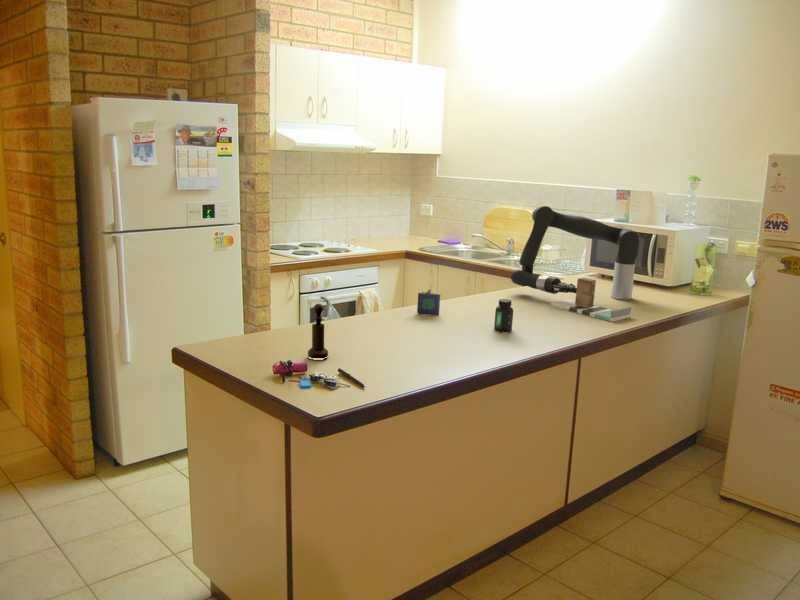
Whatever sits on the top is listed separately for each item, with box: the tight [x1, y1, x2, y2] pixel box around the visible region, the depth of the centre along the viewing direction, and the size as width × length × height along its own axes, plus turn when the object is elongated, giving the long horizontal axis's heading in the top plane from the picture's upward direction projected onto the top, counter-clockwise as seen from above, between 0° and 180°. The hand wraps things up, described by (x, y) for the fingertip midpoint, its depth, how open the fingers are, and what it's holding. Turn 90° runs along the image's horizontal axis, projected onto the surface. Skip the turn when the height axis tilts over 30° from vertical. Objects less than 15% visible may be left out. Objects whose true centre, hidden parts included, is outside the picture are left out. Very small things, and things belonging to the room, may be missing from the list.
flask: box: [416, 288, 441, 316], centre depth 285 cm, size 9×3×11 cm, turn 87°
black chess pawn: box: [307, 303, 329, 358], centre depth 221 cm, size 7×6×18 cm
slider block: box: [574, 277, 597, 308], centre depth 305 cm, size 5×6×12 cm
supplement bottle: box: [493, 298, 514, 333], centre depth 265 cm, size 7×7×12 cm
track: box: [550, 299, 632, 322], centre depth 304 cm, size 14×32×4 cm, turn 41°
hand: (579, 291), depth 307 cm, fingers closed
